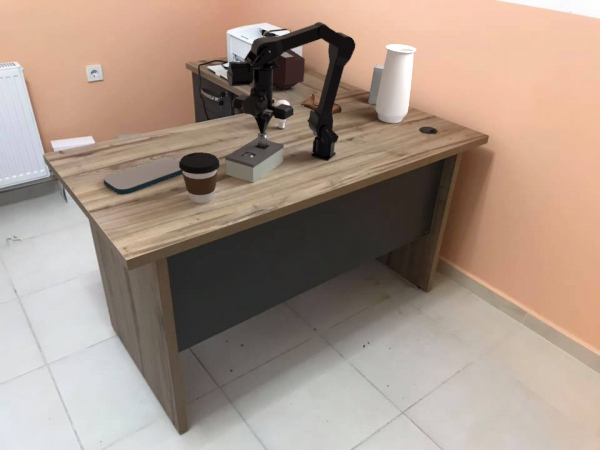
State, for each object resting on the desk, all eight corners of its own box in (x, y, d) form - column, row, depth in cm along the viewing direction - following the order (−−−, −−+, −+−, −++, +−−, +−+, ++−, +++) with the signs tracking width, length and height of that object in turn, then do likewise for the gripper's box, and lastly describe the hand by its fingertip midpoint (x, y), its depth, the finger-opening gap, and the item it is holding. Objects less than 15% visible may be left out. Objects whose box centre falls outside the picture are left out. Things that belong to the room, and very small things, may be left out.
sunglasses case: (298, 103, 212) (304, 89, 211) (308, 109, 217) (314, 95, 216) (327, 116, 201) (334, 101, 200) (337, 122, 206) (344, 107, 205)
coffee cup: (174, 197, 140) (170, 158, 134) (206, 185, 147) (204, 148, 140) (196, 212, 134) (193, 172, 127) (229, 199, 140) (227, 161, 134)
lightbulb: (290, 126, 190) (292, 97, 184) (288, 132, 185) (290, 103, 179) (274, 124, 191) (275, 96, 185) (272, 130, 185) (272, 102, 179)
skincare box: (367, 104, 217) (372, 67, 208) (370, 99, 223) (375, 63, 214) (387, 106, 215) (392, 70, 206) (389, 101, 221) (394, 65, 212)
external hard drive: (168, 160, 160) (167, 155, 159) (190, 172, 154) (189, 167, 153) (100, 183, 145) (99, 177, 144) (121, 198, 139) (120, 191, 138)
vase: (406, 126, 196) (419, 53, 181) (373, 122, 198) (383, 50, 183) (405, 115, 207) (417, 45, 192) (374, 111, 209) (384, 42, 194)
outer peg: (255, 170, 156) (255, 154, 153) (249, 174, 153) (249, 157, 150) (247, 168, 157) (247, 152, 154) (241, 171, 154) (241, 155, 151)
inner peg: (268, 150, 159) (268, 133, 156) (263, 153, 157) (263, 137, 154) (260, 147, 161) (260, 131, 158) (255, 151, 158) (255, 134, 155)
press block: (283, 161, 163) (283, 144, 160) (253, 182, 150) (253, 164, 146) (257, 154, 167) (257, 137, 164) (226, 174, 153) (225, 156, 150)
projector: (277, 77, 244) (278, 23, 230) (307, 90, 229) (311, 33, 215) (249, 82, 234) (249, 26, 221) (279, 96, 220) (281, 37, 206)
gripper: (221, 84, 145) (223, 134, 153) (276, 97, 138) (274, 148, 146) (242, 75, 153) (243, 124, 162) (295, 87, 146) (293, 136, 155)
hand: (262, 133), depth 156 cm, fingers closed
